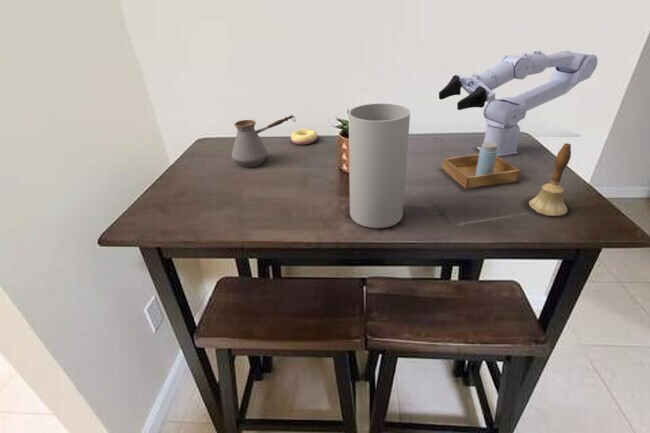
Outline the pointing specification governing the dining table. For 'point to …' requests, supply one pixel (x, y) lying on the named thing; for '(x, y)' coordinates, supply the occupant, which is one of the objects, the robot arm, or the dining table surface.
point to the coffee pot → (251, 143)
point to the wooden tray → (466, 171)
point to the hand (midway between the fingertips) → (448, 101)
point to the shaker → (486, 158)
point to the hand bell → (553, 188)
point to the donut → (304, 136)
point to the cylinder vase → (377, 163)
